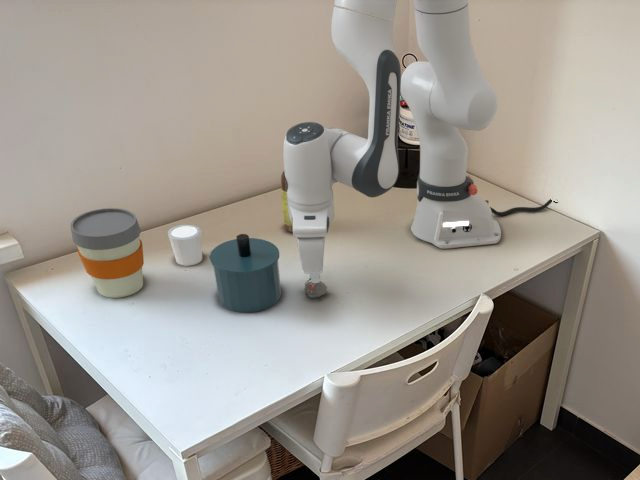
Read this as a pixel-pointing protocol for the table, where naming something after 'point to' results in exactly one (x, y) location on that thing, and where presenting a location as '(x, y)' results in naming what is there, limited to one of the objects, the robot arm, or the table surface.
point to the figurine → (315, 289)
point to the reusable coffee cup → (110, 250)
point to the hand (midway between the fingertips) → (316, 268)
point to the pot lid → (244, 255)
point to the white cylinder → (186, 244)
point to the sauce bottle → (285, 203)
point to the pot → (249, 289)
